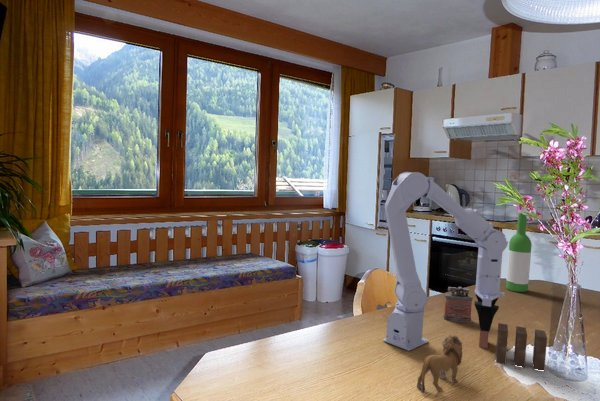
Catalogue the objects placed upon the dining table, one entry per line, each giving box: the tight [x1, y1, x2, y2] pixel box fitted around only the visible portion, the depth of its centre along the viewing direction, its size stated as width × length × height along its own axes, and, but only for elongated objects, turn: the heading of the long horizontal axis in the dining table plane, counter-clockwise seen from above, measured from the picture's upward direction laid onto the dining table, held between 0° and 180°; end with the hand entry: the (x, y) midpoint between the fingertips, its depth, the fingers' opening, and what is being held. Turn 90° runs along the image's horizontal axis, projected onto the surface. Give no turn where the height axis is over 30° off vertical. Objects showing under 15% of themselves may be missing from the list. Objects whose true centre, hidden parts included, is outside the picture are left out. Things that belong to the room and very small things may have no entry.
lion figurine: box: [416, 334, 463, 394], centre depth 92 cm, size 15×5×9 cm, turn 137°
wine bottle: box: [505, 212, 532, 293], centre depth 169 cm, size 8×8×30 cm
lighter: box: [442, 286, 474, 323], centre depth 133 cm, size 8×3×10 cm, turn 84°
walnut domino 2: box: [513, 325, 528, 368], centre depth 104 cm, size 2×5×8 cm, turn 156°
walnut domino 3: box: [532, 328, 548, 371], centre depth 102 cm, size 2×5×8 cm, turn 157°
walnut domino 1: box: [495, 322, 509, 365], centre depth 105 cm, size 2×5×8 cm, turn 157°
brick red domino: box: [478, 329, 490, 349], centre depth 114 cm, size 2×5×8 cm, turn 157°
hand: (484, 325), depth 114 cm, fingers open, 7 cm apart
